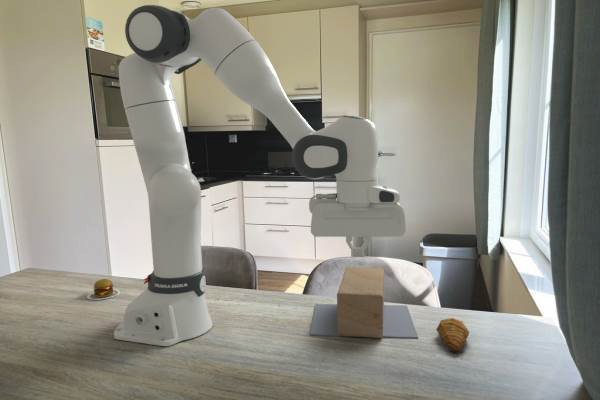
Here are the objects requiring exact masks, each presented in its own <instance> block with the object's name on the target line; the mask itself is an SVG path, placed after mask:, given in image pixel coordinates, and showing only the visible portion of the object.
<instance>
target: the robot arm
mask: <svg viewBox="0 0 600 400" xmlns="http://www.w3.org/2000/svg"><path fill="white" fill-rule="evenodd" d="M124 33H125V34H124V35H125V39H126V42H127V43H128V46H129V47H130V49H131V50H132V52H133V53H130V54H129V55H126V56H125V57H124V58H122V60H120V62H119V64H118V80H119V89H120V94H121V100H122V103H123V108H124V111H125V115H126V119H127V122H128V123H127V124H128V127H129V131H130V134H131V138H132V141H133V145H134V148H135V153H136V157H137V158H138V162H139V166H140V170H141V173H142V178H143V181H144V184H145V188H146V193H147V198H148V209H149V213H148V214H149V224H150V239H151V240H150V242H151V254H152V264H153V265H152V266H153V270H152V272H151V273H150V274H148V275H147V277H145V278H144V279H143V285H146V284H147V288H146V289H144V291H142V292H141V293H140V294H139V295H138V296H136V298H134V299H133V300H132V301H131V302H130V303H129V304H128V305H127V306H126V307H125V308H126V309H125V311H124V315H123V321H122V322H121V323H119V325H118V326H117V327H116V328H115V330H113V339H114V340H119V341H127V342H133V343H141V344H146V345H147V344H148V345H154V346H161V347H171V346H173V345H175V344H177V343H180V342H182V341H183V342H184V341H186V340H190V339H193V338H197V337H199V336H201V335H203V334H205V333H207V332H209V330H211V328H212V327H213V320H212V317H211V315H210V311H209V307H208V303H207V298H206V293H205V292H206V287H207V286H206V284H207V283H206V274H205V268H204V267H203V257H202V241H201V239H202V238H201V236H202V235H201V229H202V194H201V193H202V191H201V188H202V187H201V184H200V182H199V180H198V179H197V176H196V175H195V174H193V173H192V170H191V164H190V159H189V154H188V149H187V143H186V136H185V131H184V127H183V124H182V123H183V122H182V119H181V115H180V111H179V106H178V104H177V103H178V102H177V99H176V96H175V92H174V87H173V76H174V74H176V75H180V74H181V75H182V73H184V72H185V71H187V70H188V69H191V68H193V67H194V66H196V65H198V64H199V63H200V62H201V61H202V62H203V63H205V65H206V66H207V67H208V68H209V69H210V70H211V72H212V73H213V74H214V76H216V78H218V80H219V81H220V82H221V84H223V86H224V87H225V88H226V89H227V90H228V91H229V92H231V93H232V95H234V96H235V97H237V98H238V99H239V100H240V101H242V102H244V103H245V104H247V105H249V106H251V107H252V108H254V109H255V110H257V111H258V112H260V113H262V114H263V115H264V116H265V117H266V119H268V120H269V121H270V122H271V124H273V125H274V127H275V128H276V129H277V131H278V132H280V134H281V135H282V137H283V138H284V139H285V140H286V141H287V142H288V144H289V145H290V147H291V148H292V153H291V162H292V164H293V167H294V169H295V170H296V171H297V172H298V173H299V174H300V175H301V176H303V177H304V178H306V179H310V180H320V179H323V178H326V177H329V176H335V179H336V182H335V183H336V193H335V192H334V193H316V194H315V195H313V196H311V197H310V199H309V201H308V207H309V208H308V210H309V212H310V213H311V220H310V221H311V223H310V233H311V235H312V236H313V237H314V238H315V237H317V238H319V237H320V238H321V237H323V238H326V237H327V238H328V237H330V238H331V237H333V238H335V237H336V238H345V243H346V244H347V246H348V247H349V249H350V257H353V258H356V257H357V258H358V257H359V258H365V256H366V253H365V251H366V249H367V247H368V245H369V244H370V241H371V240H370V238H372V237H373V238H378V237H379V238H380V237H381V238H382V237H383V238H385V237H386V238H388V237H390V238H392V237H393V238H395V237H396V238H399V237H400V238H401V237H403V236H405V234H406V232H407V223H406V216H405V210H404V207H403V206H402V205H401V204H400V203H399V202H400V201H401V195H400V192H399V191H398V190H396V189H393V188H391V187H387V186H384V185H380V184H379V175H378V172H377V165H378V160H379V143H378V142H379V140H378V139H379V138H378V132H377V128H376V125H375V124H374V123H373V122H372V121H371V120H370V119H368V118H365V117H362V116H361V117H360V116H355V115H354V116H353V115H342V116H340V117H339V118H338V119H336V120H335V121H333V122H332V123H330V124H329V125H327V126H325V127H323V128H321V129H319V130H315V129H314V128H313V127H312V126H311V125H310V124H309V123H308V121H307V120H306V119H305V118H304V117H303V115H301V113H300V112H299V111H298V109H297V108H296V107H295V106H294V104H293V103H292V102H291V101H290V100H289V98H288V95H286V93H285V90H284V88H283V87H282V83H281V80H280V79H279V77H278V74H277V72H276V70H275V68H274V66H273V63H272V62H271V61H270V59H269V57H268V55H267V54H266V52H265V51H264V49H263V48H262V47H261V45H260V43H258V41H257V40H256V39H255V38H254V36H253V35H252V34H251V33H250V32H249V31H248V30H247V29H246V28H245V26H243V25H242V24H241V22H239V21H238V20H237V19H236V18H235V17H234V16H233V15H232V14H230V13H229V12H228V11H227V10H225V9H223V8H220V7H211V8H210V7H209V8H207V9H205V10H203V11H202V12H200V13H199V14H198V16H196V17H194V18H190V17H188V16H186V15H185V14H183V13H181V12H178V11H177V10H172V9H170V8H168V7H165V6H162V5H156V4H146V5H141V6H138V7H137V8H135V9H133V10H132V11H131V13H129V15H128V16H127V19H126V21H125V26H124ZM353 237H355V238H356V237H358V238H359V237H361V238H362V242H363V243H362V245H361V246H354V245H353V243H352V242H353Z"/></svg>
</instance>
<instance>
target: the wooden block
mask: <svg viewBox="0 0 600 400" xmlns="http://www.w3.org/2000/svg"><path fill="white" fill-rule="evenodd" d="M384 291H385V270H384V269H383V268H379V267H378V268H374V267H351V266H349V267H345V270H344V273H343V276H342V279H341V281H340V285H339V287H338V290H337V293H336V304H337V326H338V335H344V336H343V337H349V336H358V338H374V339H375V338H376V339H382V338H384V337H383V314H384V305H385V303H384V302H385V299H384V298H385V292H384Z"/></svg>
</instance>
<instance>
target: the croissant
mask: <svg viewBox="0 0 600 400" xmlns="http://www.w3.org/2000/svg"><path fill="white" fill-rule="evenodd" d="M438 323H439V324H438V326H437V328H436V329H435V330H436V331H437V333H438V335H439V336H440V339H442V341H443V343H444V345H445V346H446V348H447V349H448V350H450V351H451V352H452V353H455V354H458V353H460V352H461V351H462V349H463V348H464V346H465V345H466V343H467V338H468V337H469V335H470V331H469V329H468V328H467V326H466V325H465V323H464V322H463V321H462V320H458V319H456V318H454V317H453V318H445V319H441V320H440V321H439V322H438Z"/></svg>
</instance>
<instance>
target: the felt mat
mask: <svg viewBox="0 0 600 400" xmlns="http://www.w3.org/2000/svg"><path fill="white" fill-rule="evenodd" d="M412 318H413V317H412V316H411V313H410V311H409V308H408V305H399V304H398V305H395V304H393V305H392V304H390V305H389V304H384V314H383V337H382V338H391V339H392V338H395V339H419V335H418V332H417V330H416V327H415V324H414V321H413V319H412ZM309 336H312V337H313V336H314V337H315V336H316V337H318V336H319V337H345V336H344V335H338V326H337V303H315V307H314V312H313V317H312V321H311V325H310V331H309ZM348 337H349V338H350V337H353V338H354V337H355V338H356V337H358V336H348ZM358 338H359V337H358Z"/></svg>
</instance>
